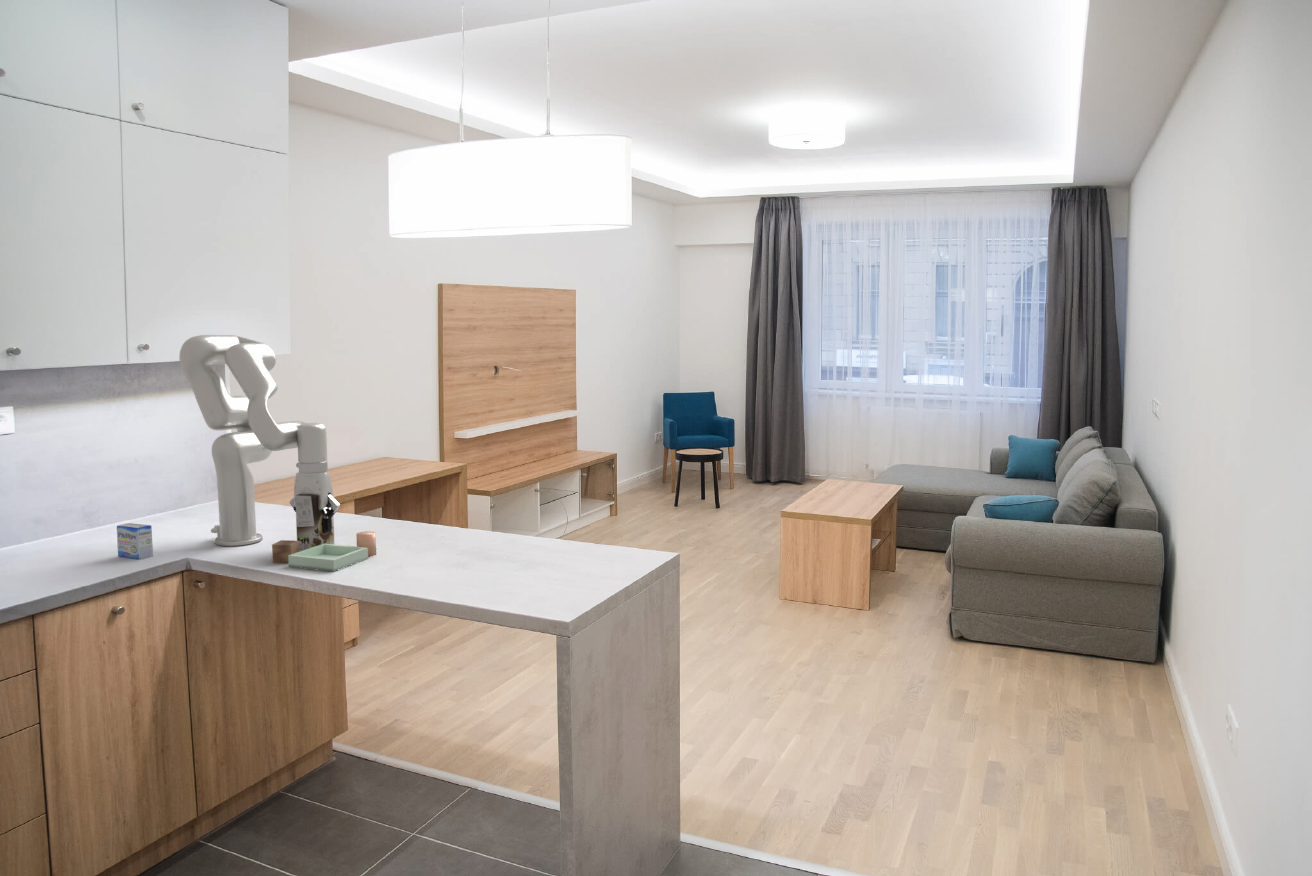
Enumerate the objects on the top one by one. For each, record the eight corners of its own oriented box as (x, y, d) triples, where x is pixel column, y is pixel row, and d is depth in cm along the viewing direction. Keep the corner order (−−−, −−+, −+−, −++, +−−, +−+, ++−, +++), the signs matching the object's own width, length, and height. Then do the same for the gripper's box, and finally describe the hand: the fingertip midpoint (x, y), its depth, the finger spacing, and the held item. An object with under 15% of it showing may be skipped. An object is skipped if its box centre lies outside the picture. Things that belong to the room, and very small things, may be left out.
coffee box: (317, 553, 247) (315, 495, 245) (296, 552, 249) (294, 494, 247) (335, 546, 256) (333, 490, 254) (315, 544, 257) (313, 489, 255)
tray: (288, 566, 233) (288, 555, 233) (324, 554, 247) (324, 543, 246) (334, 571, 229) (333, 560, 229) (368, 558, 242) (367, 547, 242)
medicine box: (117, 557, 242) (115, 525, 241) (132, 553, 247) (130, 522, 246) (139, 559, 240) (137, 527, 239) (153, 556, 244) (151, 524, 243)
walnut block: (272, 563, 237) (272, 544, 237) (281, 558, 242) (281, 540, 242) (291, 563, 237) (290, 545, 237) (299, 558, 242) (299, 540, 242)
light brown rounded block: (353, 556, 245) (352, 534, 244) (364, 552, 250) (363, 530, 249) (368, 557, 243) (368, 536, 243) (380, 553, 248) (379, 532, 247)
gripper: (277, 468, 249) (280, 531, 251) (330, 471, 243) (333, 536, 245) (296, 464, 256) (299, 526, 258) (348, 467, 250) (350, 530, 253)
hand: (315, 530), depth 252 cm, fingers closed on coffee box, 6 cm apart
